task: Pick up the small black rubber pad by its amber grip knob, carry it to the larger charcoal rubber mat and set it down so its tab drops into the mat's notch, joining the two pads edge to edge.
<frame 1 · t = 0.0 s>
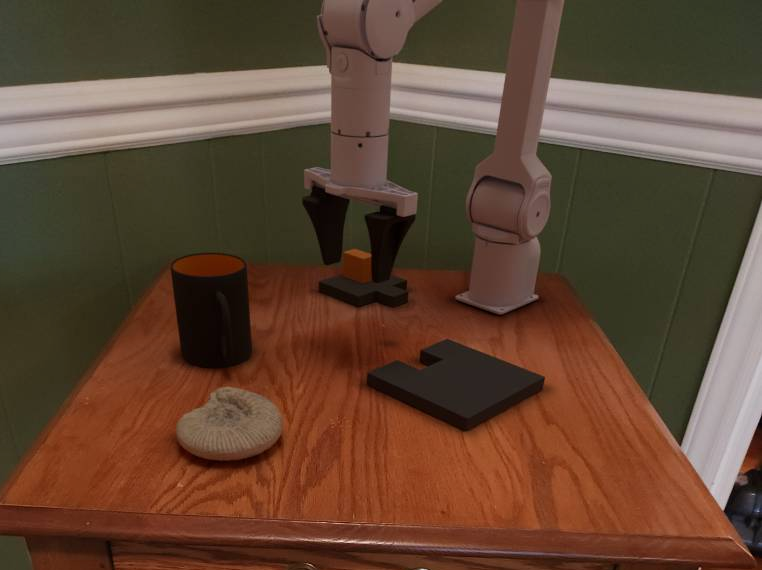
hand: (355, 271, 80), 10 cm above the table, tool pointing down, fingers open, 7 cm apart
mug: (220, 360, 85), on the table
charcoal mat: (454, 386, 81), on the table
fossil: (231, 439, 71), on the table
black pad: (362, 290, 104), on the table
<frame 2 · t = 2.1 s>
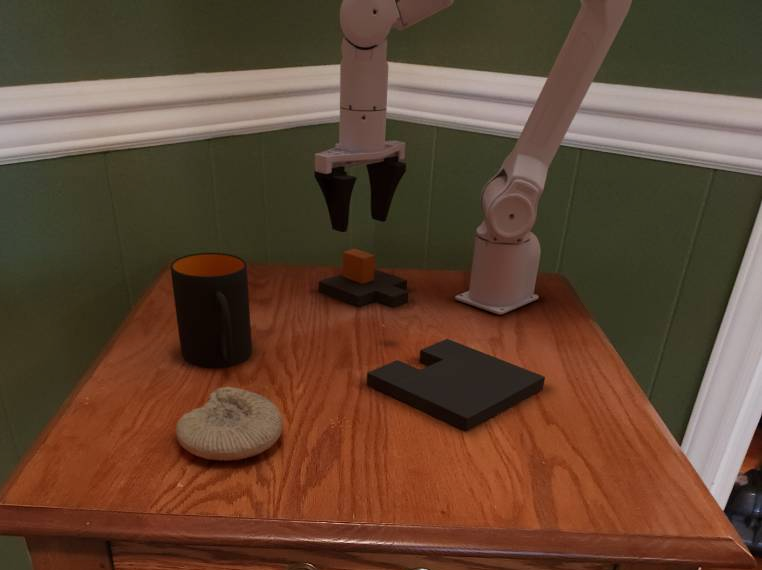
hand: (359, 225, 97), 9 cm above the table, tool pointing down, fingers open, 7 cm apart
nothing on the table moved.
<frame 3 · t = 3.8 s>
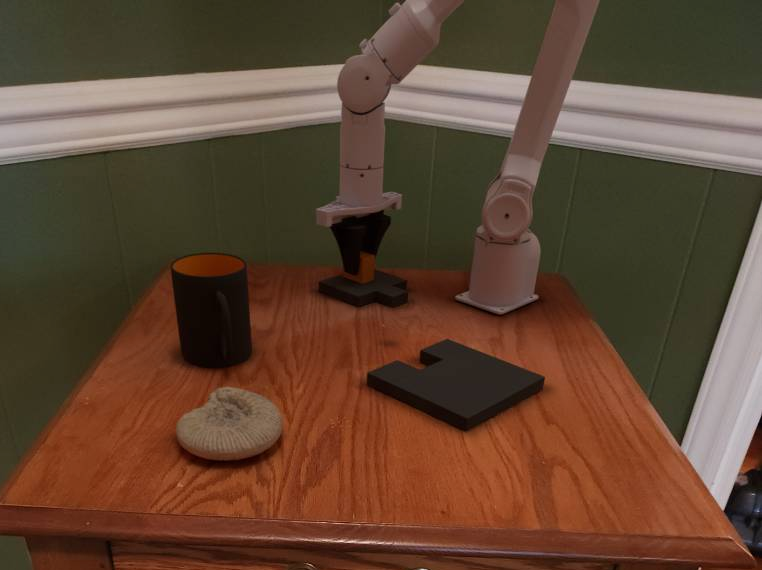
hand: (358, 270, 103), 3 cm above the table, tool pointing down, fingers closed on black pad, 2 cm apart
black pad: (362, 291, 104), on the table, touching gripper
everything else where it was.
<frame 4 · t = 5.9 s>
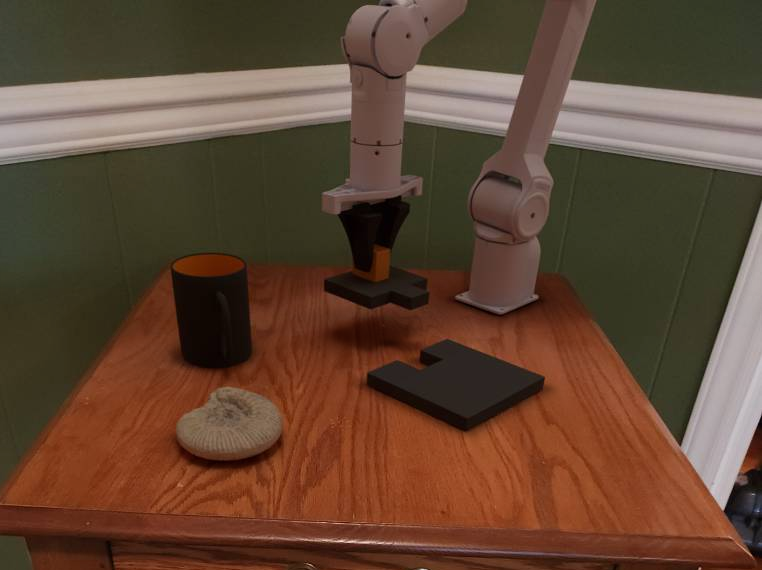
hand: (371, 267, 88), 8 cm above the table, tool pointing down, fingers closed on black pad, 2 cm apart
black pad: (375, 290, 89), point 5 cm above the table, touching gripper
everything else where it was.
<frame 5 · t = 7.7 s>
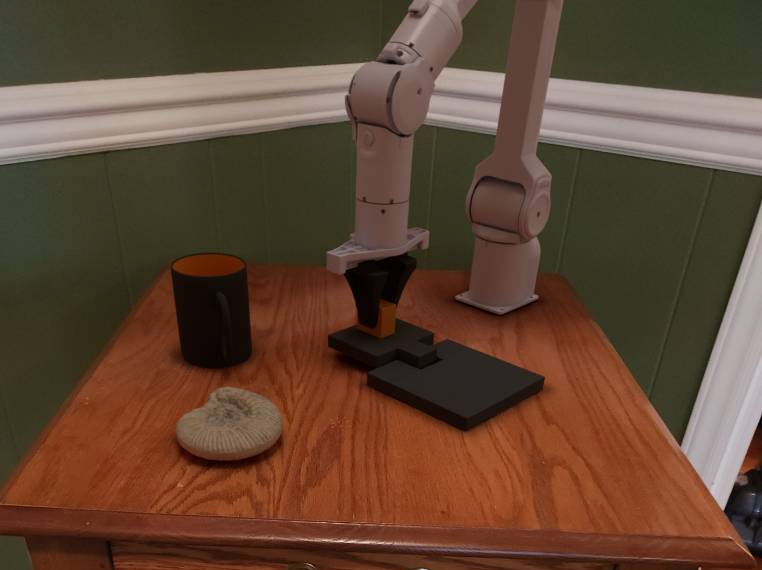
hand: (376, 322, 85), 4 cm above the table, tool pointing down, fingers closed on black pad, 2 cm apart
black pad: (381, 345, 87), point 1 cm above the table, touching gripper
everything else where it was.
when the fingers open (3 cm above the table, at t = 8.3 s): black pad stays where it is, on the table.
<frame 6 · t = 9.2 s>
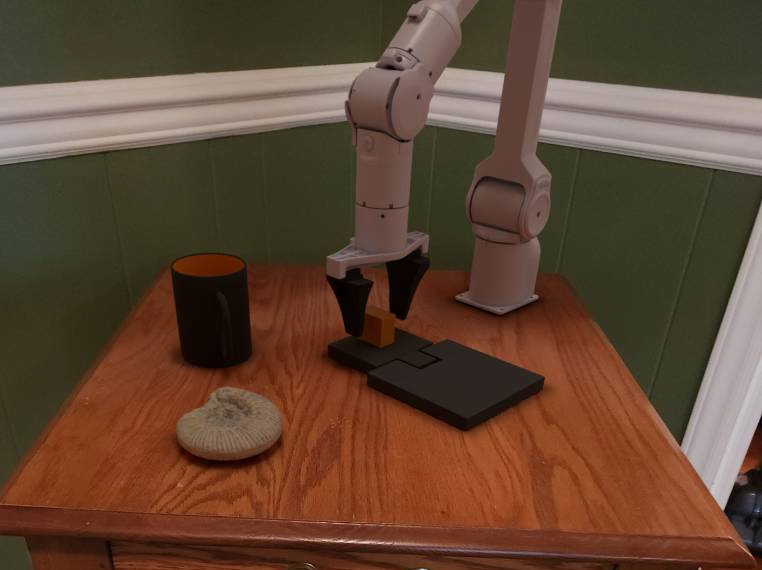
hand: (376, 325, 86), 3 cm above the table, tool pointing down, fingers open, 7 cm apart
black pad: (380, 354, 87), on the table
everything else where it was.
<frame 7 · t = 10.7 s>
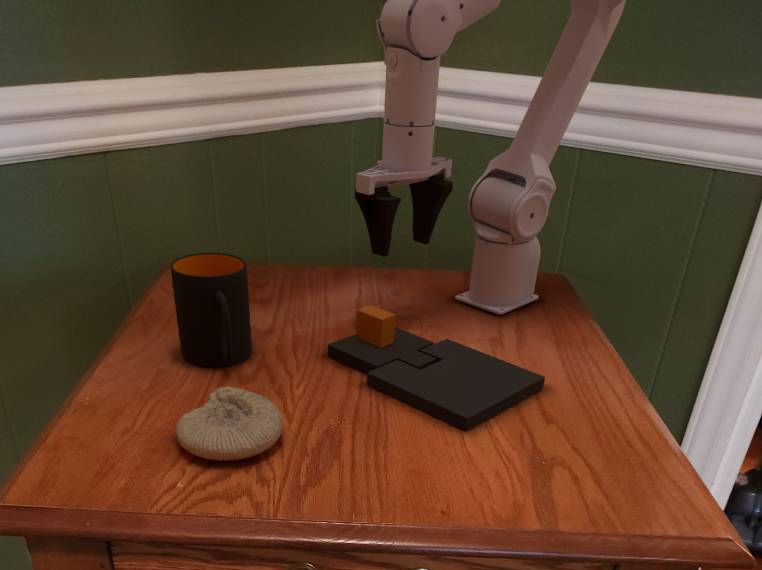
hand: (401, 248, 90), 9 cm above the table, tool pointing down, fingers open, 7 cm apart
nothing on the table moved.
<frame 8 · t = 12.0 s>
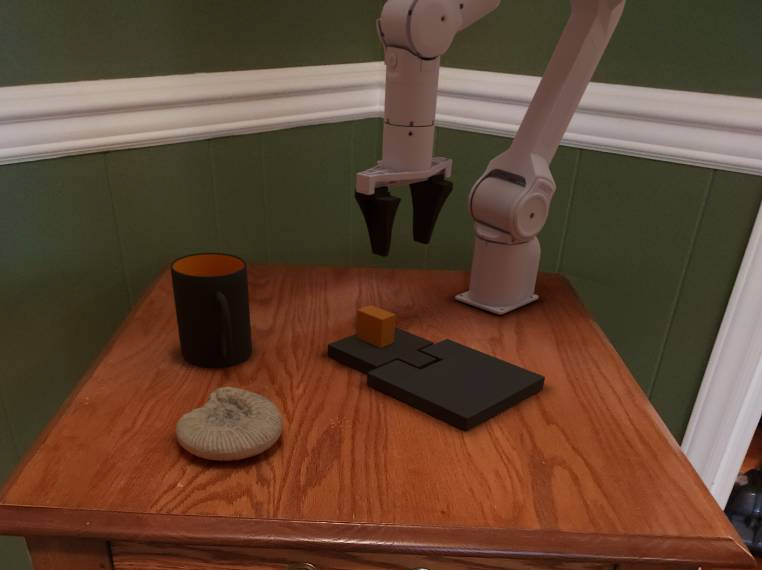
hand: (401, 248, 90), 9 cm above the table, tool pointing down, fingers open, 7 cm apart
nothing on the table moved.
at the end: black pad 0.0 cm from the target spot on the table beside the charcoal mat, on the table; black pad tilted 0°; the gripper is holding nothing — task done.
